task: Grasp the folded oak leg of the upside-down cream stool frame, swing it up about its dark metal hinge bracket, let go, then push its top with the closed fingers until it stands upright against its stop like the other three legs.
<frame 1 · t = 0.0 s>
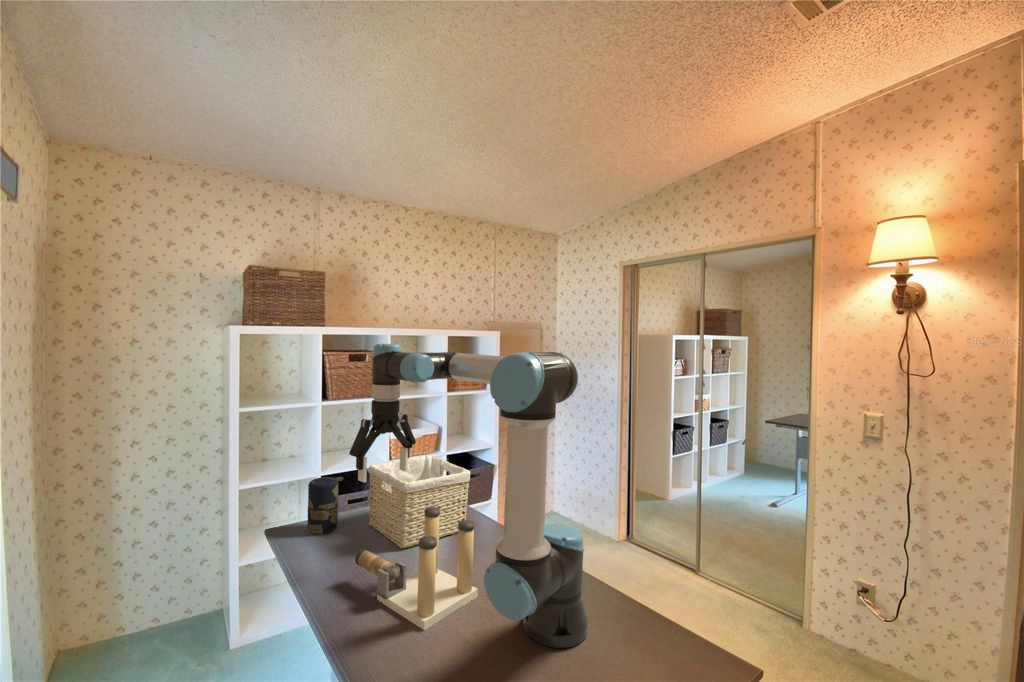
hand: (383, 475, 127), 28 cm above the table, fingers open, 13 cm apart
hinged leg: (378, 566, 120), point 6 cm above the table, hinge at 0.0°
basket: (417, 528, 159), on the table
stool seat: (428, 598, 117), on the table
canister: (322, 530, 155), on the table
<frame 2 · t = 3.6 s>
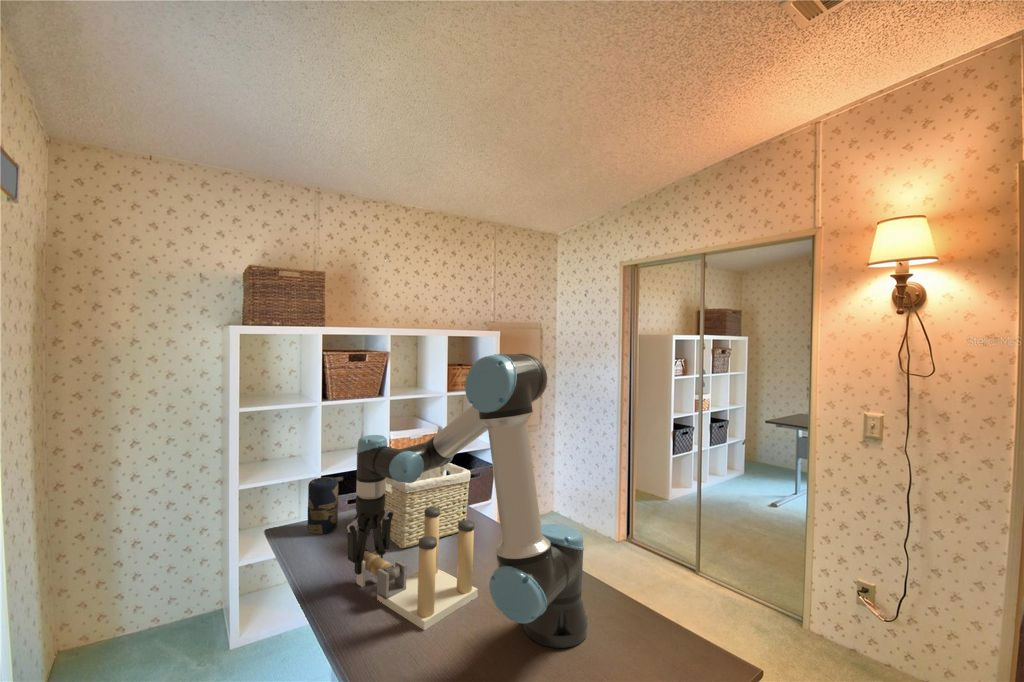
hand: (368, 580, 122), 1 cm above the table, fingers closed on hinged leg, 4 cm apart
hinged leg: (378, 566, 120), point 6 cm above the table, hinge at 0.0°, touching gripper
everything else where it was.
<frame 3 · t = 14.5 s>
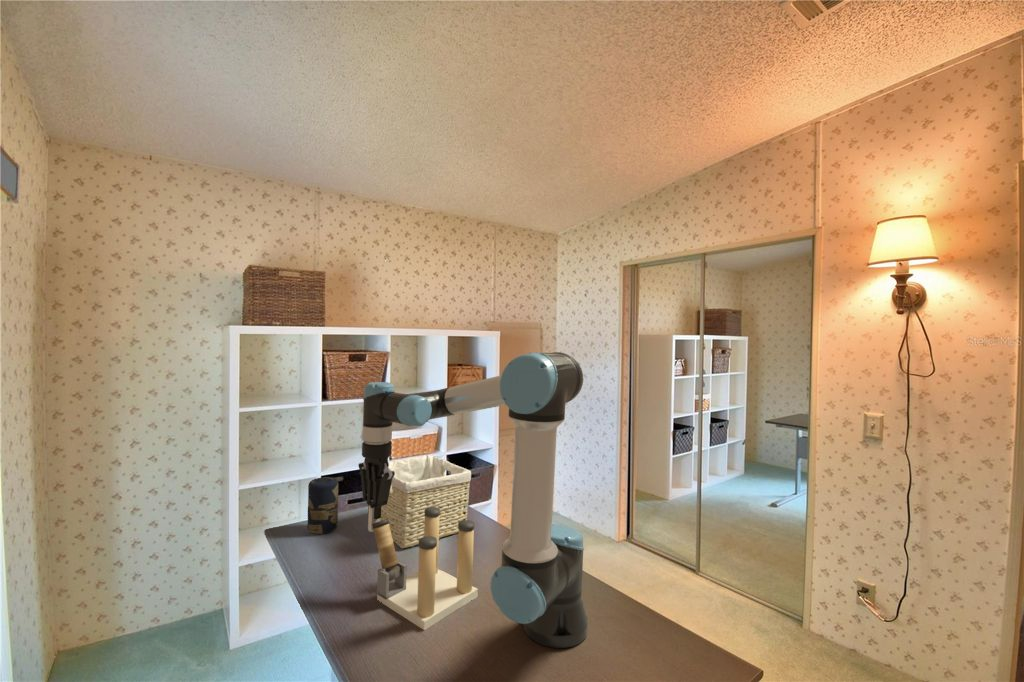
hand: (373, 529, 121), 16 cm above the table, fingers closed
hinged leg: (386, 549, 118), point 12 cm above the table, hinge at 64.8°, touching gripper
everything else where it was.
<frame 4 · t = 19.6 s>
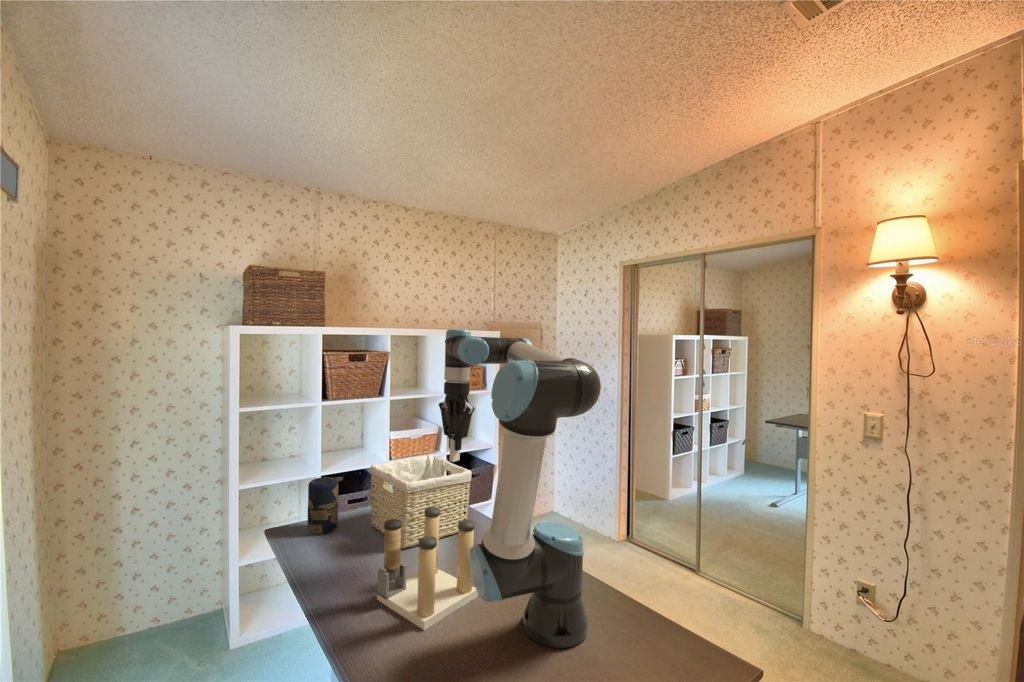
hand: (454, 460, 136), 30 cm above the table, fingers closed
hinged leg: (392, 550, 116), point 12 cm above the table, hinge at 88.5°
everything else where it was.
at the end: hinged leg at +88° (first picture: +0°); the gripper is holding nothing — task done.
